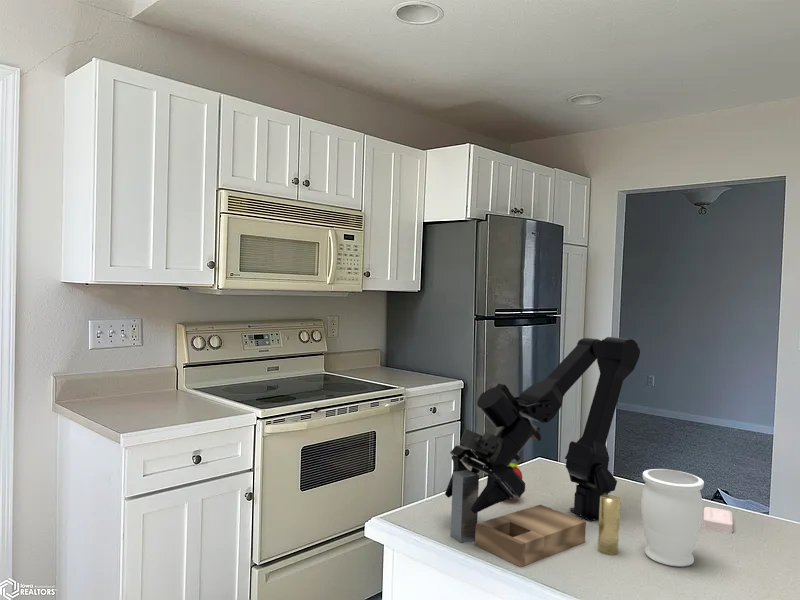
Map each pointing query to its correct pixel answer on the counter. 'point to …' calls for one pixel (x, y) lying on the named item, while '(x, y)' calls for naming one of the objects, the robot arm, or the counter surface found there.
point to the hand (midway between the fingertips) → (459, 503)
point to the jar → (671, 515)
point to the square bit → (464, 505)
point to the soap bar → (718, 519)
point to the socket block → (530, 534)
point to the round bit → (609, 524)
